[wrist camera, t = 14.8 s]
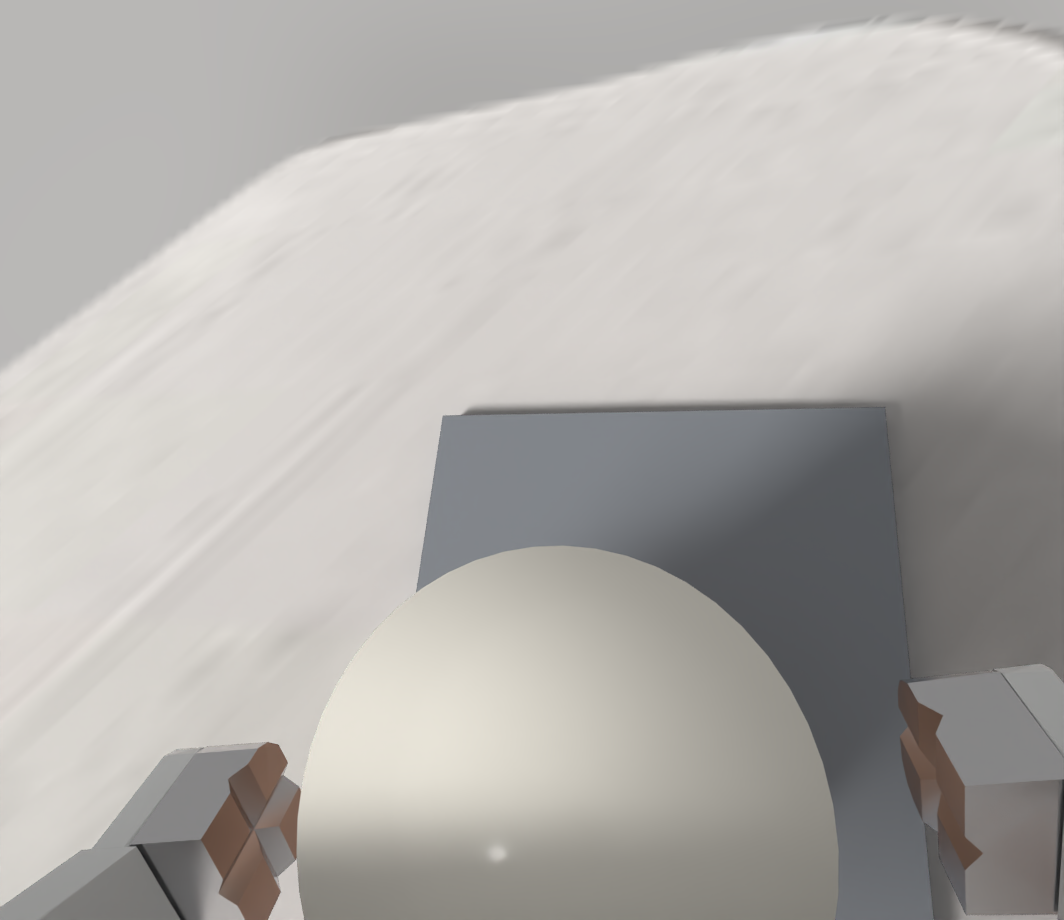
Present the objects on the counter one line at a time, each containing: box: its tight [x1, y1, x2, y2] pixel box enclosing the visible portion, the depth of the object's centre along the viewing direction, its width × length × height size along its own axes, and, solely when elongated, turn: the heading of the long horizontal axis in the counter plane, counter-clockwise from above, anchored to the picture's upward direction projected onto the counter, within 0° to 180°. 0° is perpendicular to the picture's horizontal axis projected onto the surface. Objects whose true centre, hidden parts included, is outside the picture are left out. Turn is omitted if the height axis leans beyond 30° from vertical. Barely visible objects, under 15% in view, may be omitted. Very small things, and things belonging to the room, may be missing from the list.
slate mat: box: [416, 407, 934, 920], centre depth 15 cm, size 17×11×1 cm, turn 175°
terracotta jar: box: [297, 546, 839, 920], centre depth 11 cm, size 6×6×8 cm
